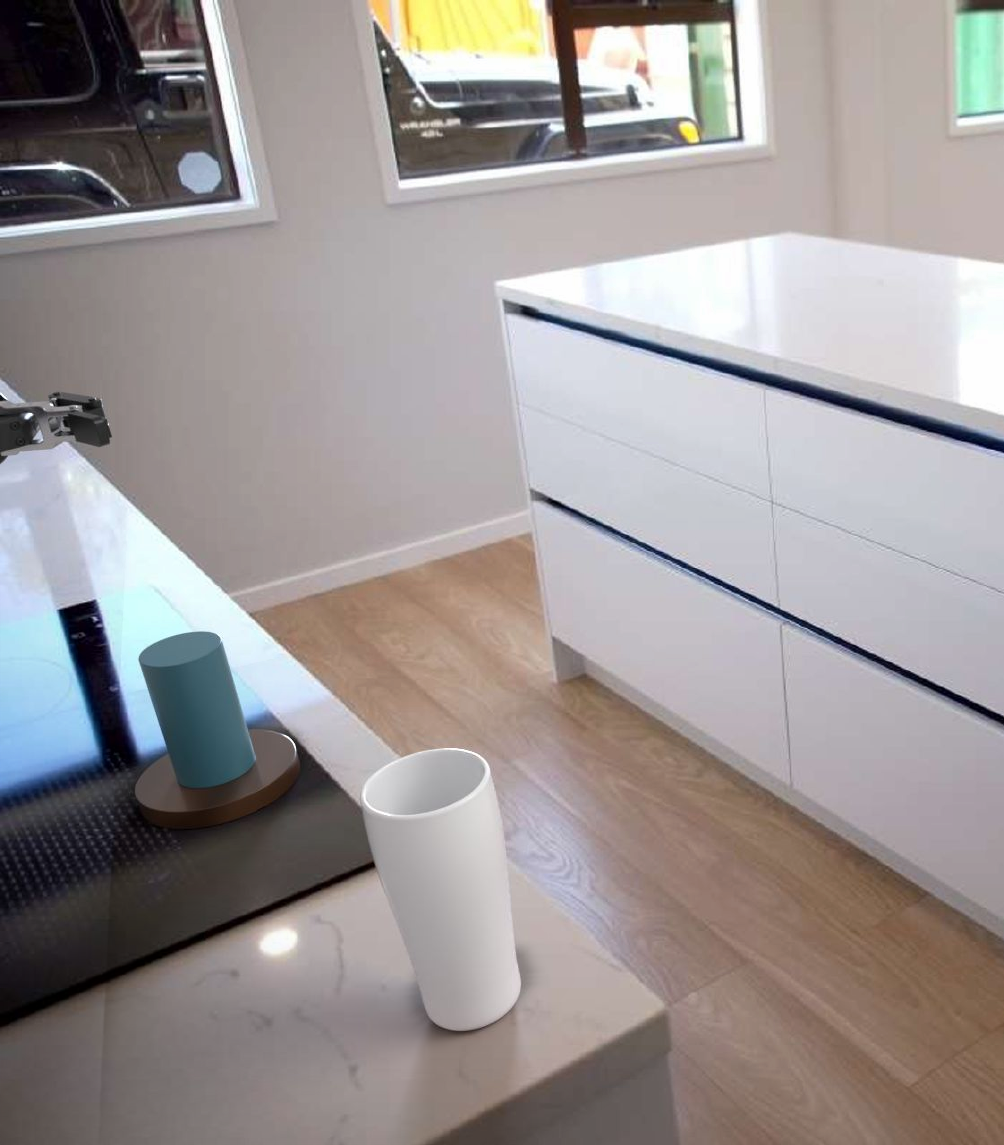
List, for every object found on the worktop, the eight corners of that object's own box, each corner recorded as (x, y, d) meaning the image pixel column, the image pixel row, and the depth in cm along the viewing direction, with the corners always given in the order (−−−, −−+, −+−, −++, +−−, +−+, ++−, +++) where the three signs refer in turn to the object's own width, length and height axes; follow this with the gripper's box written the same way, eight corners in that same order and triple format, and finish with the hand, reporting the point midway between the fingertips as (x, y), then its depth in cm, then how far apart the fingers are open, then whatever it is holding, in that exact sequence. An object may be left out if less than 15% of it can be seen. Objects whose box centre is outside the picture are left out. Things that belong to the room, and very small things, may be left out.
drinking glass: (388, 1032, 73) (329, 808, 66) (458, 952, 78) (410, 739, 72) (493, 1056, 70) (442, 827, 64) (557, 972, 76) (515, 754, 70)
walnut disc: (139, 847, 90) (133, 829, 90) (140, 771, 99) (135, 755, 99) (307, 799, 95) (302, 782, 94) (293, 731, 104) (289, 715, 103)
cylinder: (177, 796, 93) (137, 674, 89) (176, 761, 98) (138, 643, 93) (258, 774, 95) (223, 653, 91) (253, 741, 100) (219, 624, 96)
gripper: (-187, 400, 94) (-85, 428, 86) (17, 351, 105) (125, 372, 96) (-148, 497, 97) (-46, 533, 89) (46, 440, 108) (154, 468, 99)
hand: (43, 449), depth 93 cm, fingers open, 8 cm apart
